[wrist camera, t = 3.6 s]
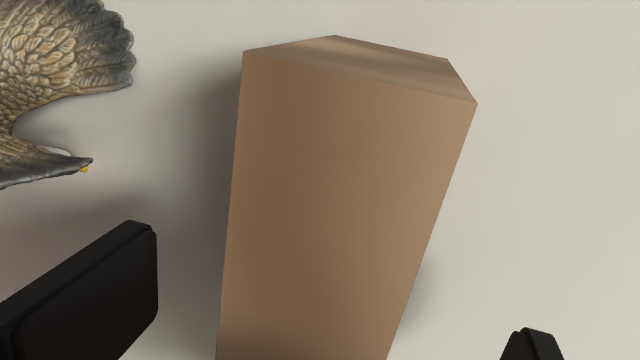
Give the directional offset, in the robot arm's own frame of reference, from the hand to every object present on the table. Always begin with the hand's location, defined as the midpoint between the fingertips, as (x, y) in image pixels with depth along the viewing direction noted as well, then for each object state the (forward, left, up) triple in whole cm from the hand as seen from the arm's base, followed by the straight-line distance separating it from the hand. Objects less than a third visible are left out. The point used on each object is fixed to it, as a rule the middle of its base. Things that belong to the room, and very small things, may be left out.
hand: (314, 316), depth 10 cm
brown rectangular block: (0, -1, -3) cm, 3 cm away
